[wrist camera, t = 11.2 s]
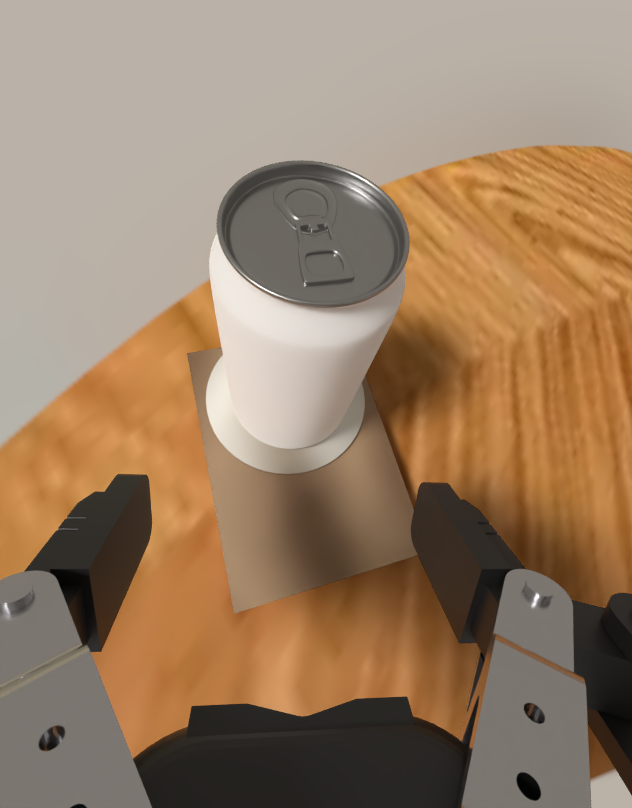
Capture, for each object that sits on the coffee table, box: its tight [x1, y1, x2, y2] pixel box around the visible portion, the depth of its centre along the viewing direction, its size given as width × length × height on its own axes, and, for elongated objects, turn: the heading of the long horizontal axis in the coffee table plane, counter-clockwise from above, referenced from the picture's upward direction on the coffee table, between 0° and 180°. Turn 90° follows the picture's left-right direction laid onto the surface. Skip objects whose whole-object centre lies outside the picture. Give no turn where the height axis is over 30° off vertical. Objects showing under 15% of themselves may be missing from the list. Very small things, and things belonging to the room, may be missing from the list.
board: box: [187, 348, 418, 614], centre depth 22 cm, size 10×14×2 cm
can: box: [209, 161, 409, 449], centre depth 17 cm, size 6×6×12 cm
